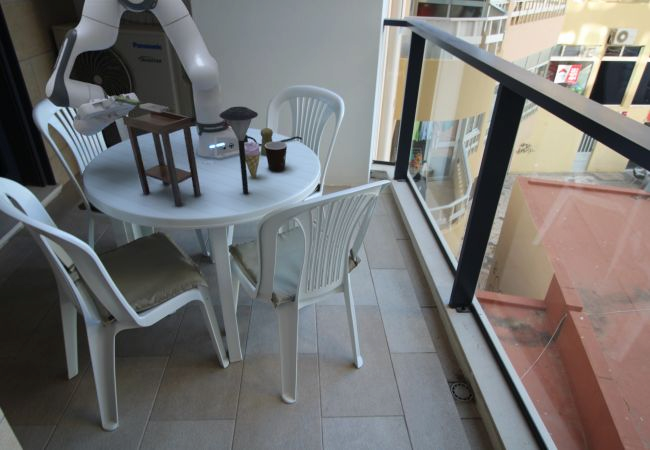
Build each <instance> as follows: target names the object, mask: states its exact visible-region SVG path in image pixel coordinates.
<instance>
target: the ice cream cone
mask: <svg viewBox="0 0 650 450" xmlns="http://www.w3.org/2000/svg"><path fill="white" fill-rule="evenodd" d="M256 142H257V141H256ZM256 142H254V141H253V140H252V141H248V142H246V146H245V158H246V167H247V169H248V172H249V174H250V177H251V179H256V177H257V172H258V169H259V164H260V157H261V156H260V155H261V150H260V146H259V144H260V143H258V142H257V144H256Z"/></svg>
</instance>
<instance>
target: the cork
mask: <svg viewBox="0 0 650 450" xmlns="http://www.w3.org/2000/svg"><path fill="white" fill-rule="evenodd" d="M273 135H274V131H273V130H272V129H271V128H267V127H266V128H262V129H261V130H260V136H261V143H260V144H261V146H260V155H261V156H264V157H267V156H266V150H265V144H266V143H269V142H274V141H273Z"/></svg>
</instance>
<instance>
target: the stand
mask: <svg viewBox="0 0 650 450" xmlns="http://www.w3.org/2000/svg"><path fill="white" fill-rule="evenodd" d="M122 120H123V124H124V126H126V129H127V133H128V137H129V142H130V145H131V149H132V153H133V157H134V161H135V166H136V170H137V174H138V178H139V181H140V185H141V191H142V194H143V195H145V196H148V195H150V194H151V190H150V187H149V182H148V178H147V177H149V178H151V179H154V180H157V181H160V182H162V185H163V186H165V187H167V186H169V185H170V186H171V191H172V195H173V200H174V206H175V207H178V208H180V207H181V206H183V202H182V201H183V200H182V197H181V192H180V186H179V184H182V182H185V181H187V180H190V179H191V183H192V184H191V185H192V189H193V195H194V197H197V198H198V197H200V196H202V192H201V187H200V182H199V175H198V174H199V173H198V168H197V167H198V166H197V162H196V156H195V150H194V141H193V136H192V131H191V127H192V118H191V116H186V115H182V114H179V113H174V112H169V111H164V112H161V113H159V112H155V111H151V110H149V113H147V114H143V115H140V116H136V117H132V116H128V115H126V116H122ZM136 129H139V130H142V131H146V132H150V133H151V135H152V140H153V144H154V150H155V154H156V158H157V159H156V160H157V163H158V164H157V165H153V166H152V167H150V168H149V167H148V168H147V169H146V168H145V165H144V161H143V157H142V153H141V149H140V148H141V147H140V145H139V140H138V136H137V132H136ZM182 130H183V136H184V137H183V138H184V143H185V149H186V155H187V160H188V165H189V171H188V170H185V169H181V168H178V167H176V165H175V159H174V155H173V149H172V144H171V139H170V134H173V133H176V132H178V131H182ZM160 136H161V137H160ZM162 146H163V147H162ZM163 150H164V151H163Z"/></svg>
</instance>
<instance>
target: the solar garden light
mask: <svg viewBox="0 0 650 450" xmlns="http://www.w3.org/2000/svg"><path fill="white" fill-rule="evenodd" d="M219 116H220V118H222V119H225V120H227V121H228V123H229V124H230V126H229V127H230V128H232V130H233V132H234V133H235V135H236V137H237V139H238V143H239V164H240V175H241V185H242V186H241V187H242V194H243V195H244V196H247V195H249V183H248V172H247V171H248V170H247V163H246V158H245V147H244V138H245V136H246V135H247V132H248V130H249V127H250V125H251V123H252V120H253V119H255V118H257V117H258V116H259V113H258V112H257V111H254V110H253V109H251V108H249V107H246V106H232V107H228V108H227V109H225V110H223V112H222V113H221V114H220V115H219Z"/></svg>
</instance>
